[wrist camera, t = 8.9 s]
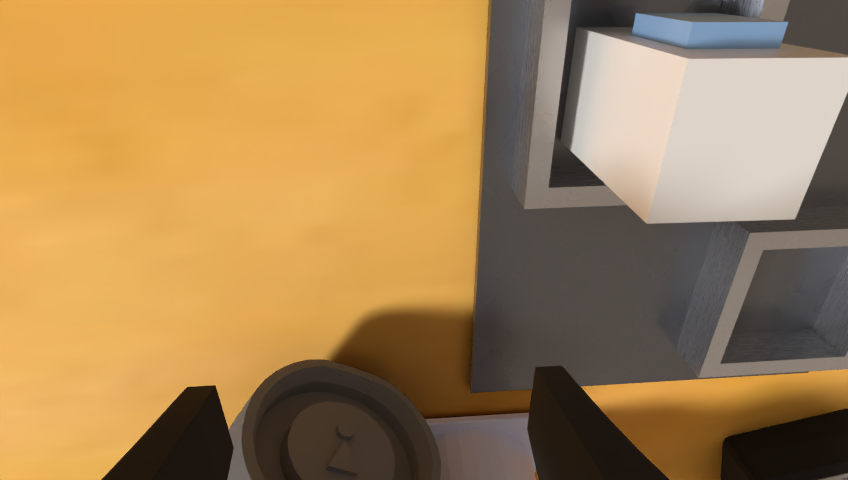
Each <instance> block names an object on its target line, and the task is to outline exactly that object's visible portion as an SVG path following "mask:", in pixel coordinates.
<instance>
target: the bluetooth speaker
mask: <svg viewBox="0 0 848 480" xmlns="http://www.w3.org/2000/svg"><path fill="white" fill-rule="evenodd" d="M229 433H230V436H231V440H232V443H233V447H234V449H233V454H232V459H231V464H230V469H229V474H228V479H227V480H440V478H441V459H440V454H439V450H438V446H437V443H436V440H435V438H434V436H433V433H432V431H431V429H430V427H429V425H428V424H427V422H426V420H425V419H424V417H423V416H422V414H421V413H420V411H419V410H418V409H417V407H416V406H415V405H414V404H413V403H412V402H411V400H410V399H409V398H408V397H407V396H406V395H405V394H404V393H402V392H401V391H400V390H399V389H398V388H397V387H395V386H394V385H392V384H391V383H389V382H388V381H387V380H385V379H382V378H380V377H378V376H375V375H373V374H370V373H368V372H365V371H362V370H359V369H357V368H354V367H350V366H347V365H344V364H340V363H336V362H333V361H328V360H305V361H301V362H296V363H293V364H290V365H288V366H285V367H283V368H281V369H280V370H278V371H276V372H275V373H273V374H272V375H270V376H269V377H268V378H267V379H265V381H264V382H263V383H262V384H261V385H260V386H259V387H258V388H257V390H256V391H255V392H254V394H253V395H252V396H251V398H250V399H249V400H248V402H247V403H246V404H245V406H244V407H243V409H242V410H241V412H240V413H239V414H238V416H237V417H236V419H235V421H234V422H233V424H232V425H231V427H230V428H229Z"/></svg>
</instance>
